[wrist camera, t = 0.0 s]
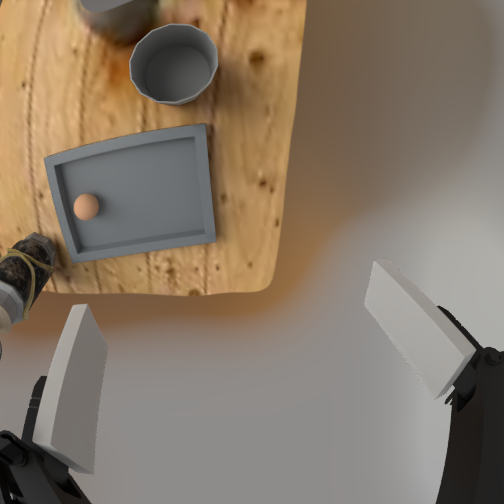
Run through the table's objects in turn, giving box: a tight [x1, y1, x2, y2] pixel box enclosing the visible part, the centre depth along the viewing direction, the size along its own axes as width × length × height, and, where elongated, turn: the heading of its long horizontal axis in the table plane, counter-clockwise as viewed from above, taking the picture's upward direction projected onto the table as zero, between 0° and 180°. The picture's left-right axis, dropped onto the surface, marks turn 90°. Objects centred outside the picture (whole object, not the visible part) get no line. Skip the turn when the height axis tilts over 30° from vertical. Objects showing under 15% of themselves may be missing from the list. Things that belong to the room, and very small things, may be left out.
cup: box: [129, 24, 218, 105], centre depth 25 cm, size 8×8×10 cm
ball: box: [74, 193, 99, 220], centre depth 32 cm, size 4×4×4 cm
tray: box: [44, 123, 216, 263], centre depth 34 cm, size 16×22×2 cm
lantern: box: [0, 232, 56, 359], centre depth 24 cm, size 9×8×25 cm
